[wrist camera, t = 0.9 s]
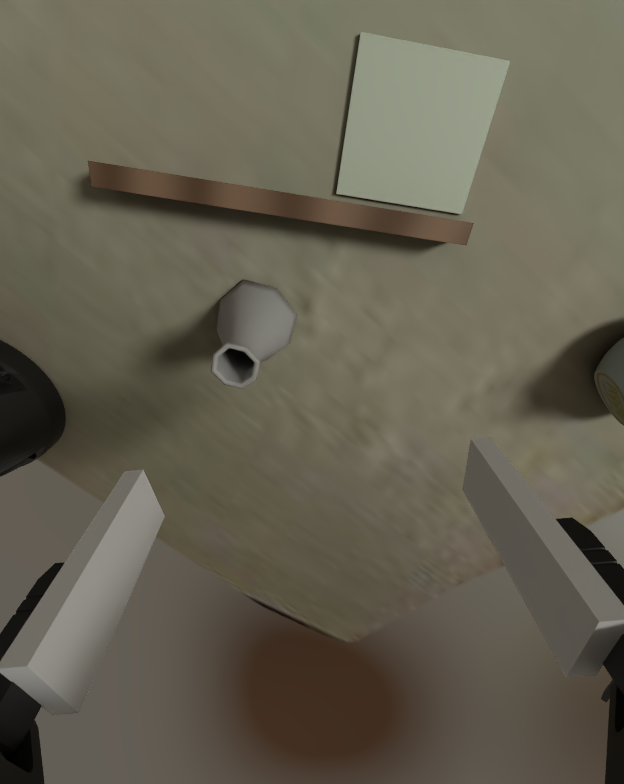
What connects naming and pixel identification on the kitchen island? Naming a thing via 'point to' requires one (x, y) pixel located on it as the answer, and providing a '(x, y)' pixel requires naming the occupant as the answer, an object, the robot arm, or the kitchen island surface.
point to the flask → (250, 331)
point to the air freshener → (612, 380)
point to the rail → (277, 203)
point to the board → (417, 122)
